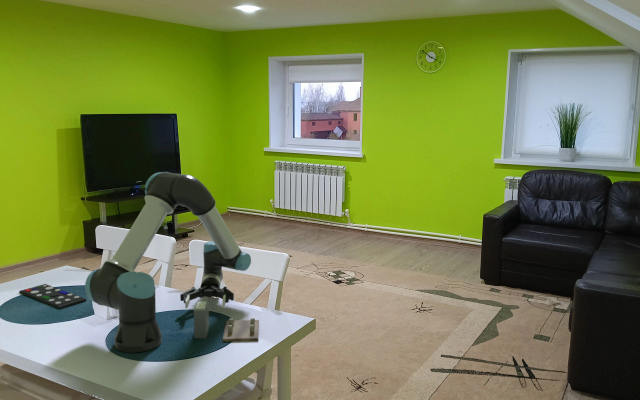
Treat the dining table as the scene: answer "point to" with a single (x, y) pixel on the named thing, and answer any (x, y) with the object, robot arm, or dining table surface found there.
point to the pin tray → (241, 330)
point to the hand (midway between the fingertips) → (204, 304)
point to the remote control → (53, 296)
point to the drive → (201, 319)
